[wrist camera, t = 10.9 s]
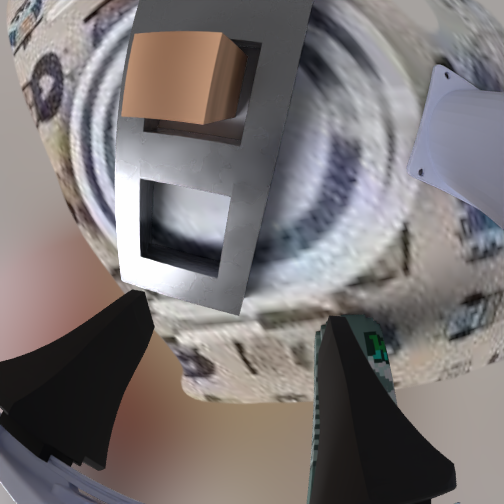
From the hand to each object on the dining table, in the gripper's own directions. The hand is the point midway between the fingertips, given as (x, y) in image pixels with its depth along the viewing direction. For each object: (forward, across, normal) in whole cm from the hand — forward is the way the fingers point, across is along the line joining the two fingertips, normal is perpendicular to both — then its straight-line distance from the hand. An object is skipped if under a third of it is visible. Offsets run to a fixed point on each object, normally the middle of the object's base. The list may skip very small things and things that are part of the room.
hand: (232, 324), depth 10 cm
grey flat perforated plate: (+9, +4, -9) cm, 13 cm away
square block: (+10, +4, -9) cm, 14 cm away
